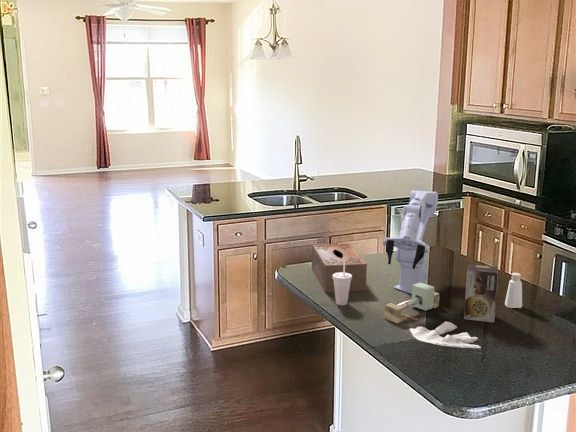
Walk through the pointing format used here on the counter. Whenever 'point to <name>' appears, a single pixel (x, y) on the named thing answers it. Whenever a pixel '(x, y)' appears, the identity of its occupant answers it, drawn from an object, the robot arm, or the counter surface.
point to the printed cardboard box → (481, 293)
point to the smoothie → (342, 286)
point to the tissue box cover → (338, 265)
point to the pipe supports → (398, 310)
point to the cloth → (451, 341)
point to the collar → (423, 295)
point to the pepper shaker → (514, 292)
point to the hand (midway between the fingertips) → (401, 264)
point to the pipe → (409, 303)
